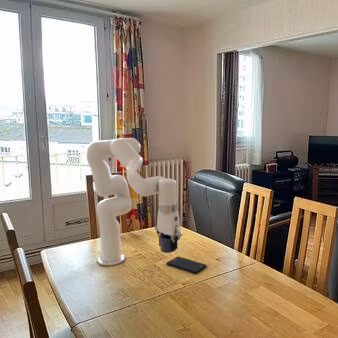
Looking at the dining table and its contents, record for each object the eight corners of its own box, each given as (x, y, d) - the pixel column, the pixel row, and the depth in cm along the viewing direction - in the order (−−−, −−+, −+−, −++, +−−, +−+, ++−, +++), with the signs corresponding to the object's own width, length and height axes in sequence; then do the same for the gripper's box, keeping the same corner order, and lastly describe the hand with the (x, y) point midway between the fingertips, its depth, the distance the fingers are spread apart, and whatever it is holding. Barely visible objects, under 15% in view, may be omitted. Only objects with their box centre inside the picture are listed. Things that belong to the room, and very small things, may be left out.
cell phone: (177, 257, 167) (177, 256, 167) (206, 266, 158) (206, 264, 158) (166, 264, 160) (166, 262, 160) (195, 273, 151) (195, 271, 150)
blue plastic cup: (157, 250, 142) (157, 237, 141) (168, 245, 147) (168, 232, 146) (168, 254, 138) (167, 240, 137) (179, 249, 143) (179, 236, 142)
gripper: (188, 209, 137) (188, 249, 140) (160, 202, 147) (160, 240, 150) (176, 213, 131) (176, 255, 134) (147, 206, 141) (148, 245, 144)
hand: (168, 247), depth 142 cm, fingers closed on blue plastic cup, 6 cm apart
